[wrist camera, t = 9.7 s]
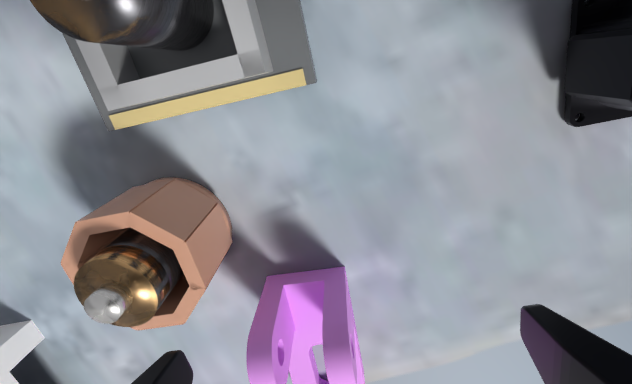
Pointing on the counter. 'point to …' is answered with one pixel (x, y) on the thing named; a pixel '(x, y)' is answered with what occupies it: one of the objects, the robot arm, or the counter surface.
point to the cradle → (201, 65)
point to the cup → (161, 237)
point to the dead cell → (127, 280)
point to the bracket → (304, 330)
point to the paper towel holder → (16, 346)
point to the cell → (132, 21)
